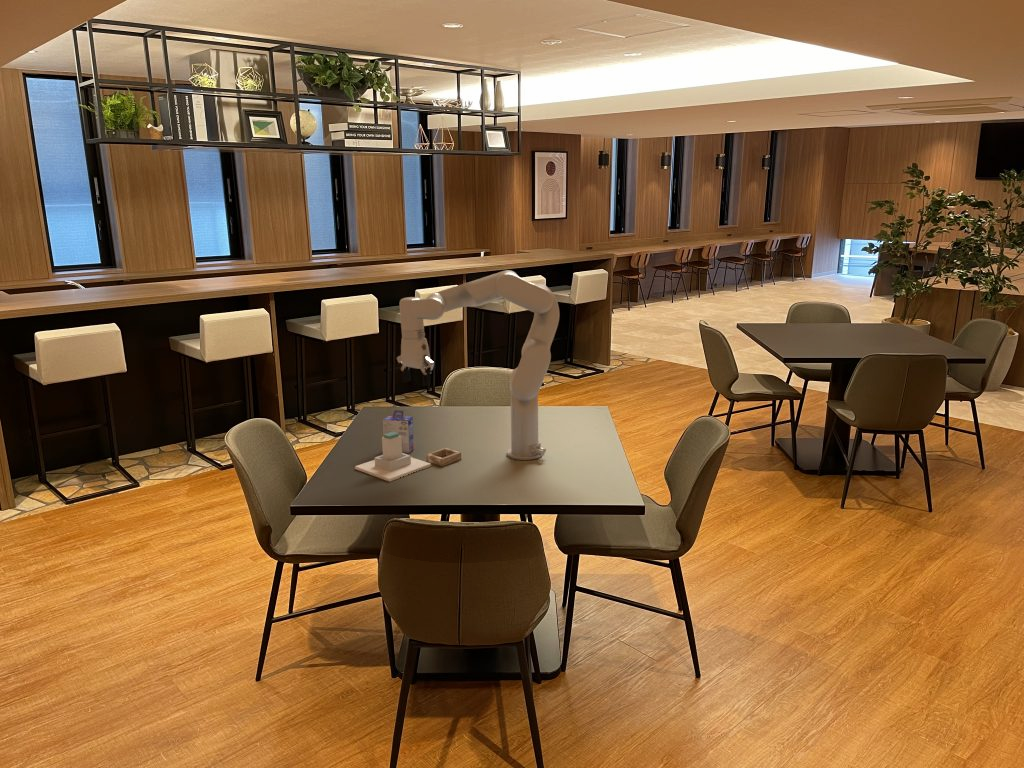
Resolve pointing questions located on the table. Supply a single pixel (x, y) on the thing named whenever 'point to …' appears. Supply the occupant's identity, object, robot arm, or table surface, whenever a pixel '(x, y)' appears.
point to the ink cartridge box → (400, 429)
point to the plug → (391, 446)
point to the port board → (392, 467)
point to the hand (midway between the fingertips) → (417, 383)
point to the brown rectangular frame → (450, 457)
